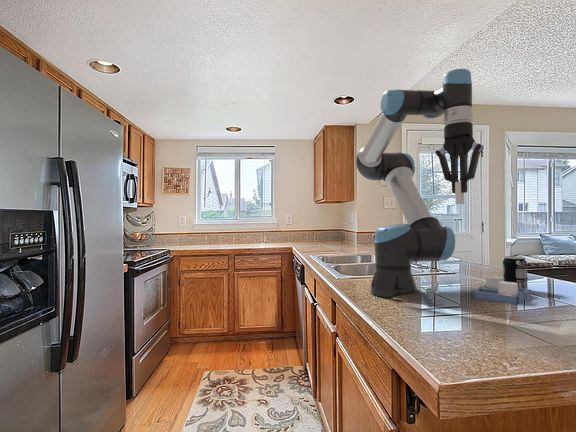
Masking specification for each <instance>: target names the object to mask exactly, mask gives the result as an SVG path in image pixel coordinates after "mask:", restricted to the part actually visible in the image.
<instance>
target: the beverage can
mask: <svg viewBox="0 0 576 432" xmlns="http://www.w3.org/2000/svg"><path fill="white" fill-rule="evenodd" d="M502 274H503V275H502V277H504V282H514V283H518V288H523V289H529V288H528V262H527V260H526V257H524V256H516V255H515V256H514V255H512V256H511V255H510V256H509V255H508V256H504V259H503V261H502Z"/></svg>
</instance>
